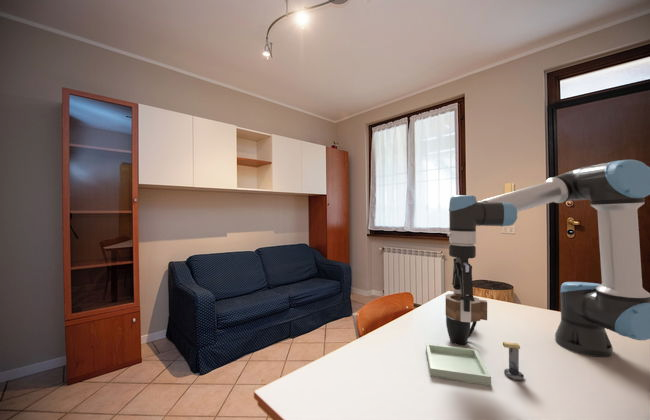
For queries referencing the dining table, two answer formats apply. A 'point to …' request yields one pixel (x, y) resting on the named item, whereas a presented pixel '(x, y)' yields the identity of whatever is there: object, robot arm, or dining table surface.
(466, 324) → the mug
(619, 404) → the dining table surface
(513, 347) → the door handle
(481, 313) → the ring
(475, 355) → the tray
